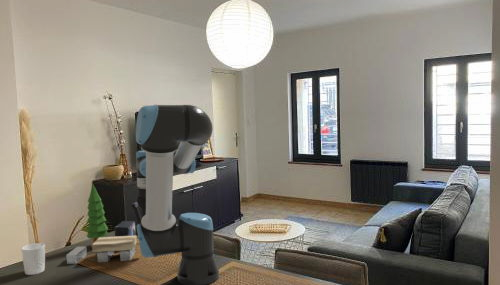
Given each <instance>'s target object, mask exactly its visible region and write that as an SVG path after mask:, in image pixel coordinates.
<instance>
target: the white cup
mask: <svg viewBox="0 0 500 285" xmlns="http://www.w3.org/2000/svg"><path fill="white" fill-rule="evenodd" d="M21 254H22V263H23V268H24V270H23V271H24V274H25V275H27V276H32V275H38V274H41V273H42V272H44V271H45V270H46V269H45V268H46V244H45V243H42V242H39V243H37V242H36V243H29V244H27V245H24V246H22V247H21Z"/></svg>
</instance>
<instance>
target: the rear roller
mask: <svg viewBox="0 0 500 285" xmlns="http://www.w3.org/2000/svg"><path fill="white" fill-rule="evenodd" d="M135 253H136V245H135V246H134V248H133V249H132V250H122V251H119V260H120V262H124V261H125V262H126V261H131V260H132V258H133V257H134V255H135Z"/></svg>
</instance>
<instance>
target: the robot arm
mask: <svg viewBox="0 0 500 285" xmlns="http://www.w3.org/2000/svg"><path fill="white" fill-rule="evenodd" d="M212 133H213V124H212V121H211V118H210V117H209V115H208V114H207V113H206V112H205V111H204V110H203V109H202V108H200V107H198V106H195V105H193V104H192V105H191V104H153V105H143V106H142V107H141V108H140V109H139V110H138V113H137V118H136V124H135V141H136V143H137V144H138V145H140V149H141V150H138V151H136V152H135V161H136V163H135V164H136V165H135V166H136V186H137V199H136V201H135V202H133V203H132V204H131V207H132V209H133V210H134V214H135V217H136V221H137V223H138V224H137V225H136V231H137V232H136V233H137V239H138V242H139V249H140V253H141V256H142V257H144V258H157V257H161V256H168V255H173V254H179V253H180V254H181V257H180V258H181V259H180V263H179V265H178V270H177V272H176V273H177V278H176V279H177V281H178V282H179V283H180V284H182V285H209V284H211V283H214V282H215V281H217V280H218V279H219V277H220V270H219V267H218V263H217V261H216V257H215V256H214V255H215V254H214V251H215V250H214V225H213V219H212V217H211V216H209V215H208V214H205V213H199V212H186V213H185V212H184V213H181V214H180V215H179V219H177V218H176V216H175V215H174V214H173V183H174V179H173V178H174V175H187V174H193V173H194V172H195V170H196V166H197V165H196V164H197V163H196V157H197V156H198V153H199V152H200V150H201V148H202V146H205V144H207V143H208V142H209V141H210V139H211V136H212ZM139 207H140V208H141V211H142V217H141V212H140V209H139Z"/></svg>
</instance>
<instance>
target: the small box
mask: <svg viewBox="0 0 500 285" xmlns="http://www.w3.org/2000/svg"><path fill="white" fill-rule="evenodd" d="M135 235H136V220H135V221H134V220H129V221H128V220H123V221H121V222H120V223H118V224H117V225H115V226H114V237H115V236H135Z"/></svg>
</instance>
